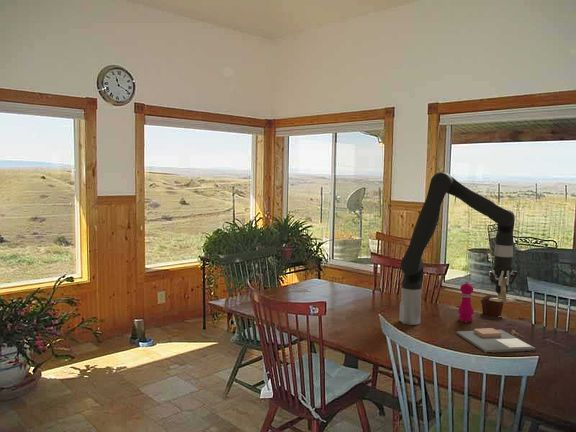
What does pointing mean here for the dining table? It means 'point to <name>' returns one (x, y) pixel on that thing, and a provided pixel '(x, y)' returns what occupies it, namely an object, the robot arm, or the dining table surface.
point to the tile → (487, 332)
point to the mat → (491, 342)
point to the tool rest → (513, 343)
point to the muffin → (491, 306)
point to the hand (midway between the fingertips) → (501, 293)
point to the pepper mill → (466, 303)
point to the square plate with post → (502, 293)
